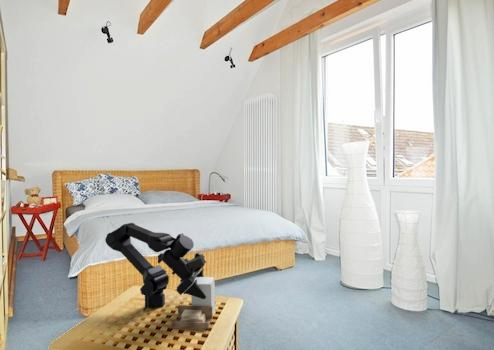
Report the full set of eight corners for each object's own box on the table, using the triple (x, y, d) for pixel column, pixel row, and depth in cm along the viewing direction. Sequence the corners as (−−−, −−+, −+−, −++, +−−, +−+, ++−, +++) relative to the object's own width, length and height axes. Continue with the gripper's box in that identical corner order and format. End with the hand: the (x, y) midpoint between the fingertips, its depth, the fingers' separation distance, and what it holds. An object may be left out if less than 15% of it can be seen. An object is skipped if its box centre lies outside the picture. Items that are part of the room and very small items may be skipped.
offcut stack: (179, 326, 110) (178, 315, 110) (182, 319, 115) (182, 309, 115) (202, 326, 110) (202, 316, 110) (205, 320, 114) (205, 309, 114)
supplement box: (215, 309, 124) (215, 276, 124) (211, 319, 117) (211, 284, 116) (196, 309, 125) (195, 276, 124) (191, 318, 118) (190, 283, 117)
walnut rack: (172, 330, 109) (171, 316, 109) (179, 319, 117) (178, 305, 117) (207, 332, 108) (207, 317, 108) (212, 320, 116) (212, 306, 116)
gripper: (185, 256, 111) (218, 289, 110) (197, 241, 129) (226, 269, 129) (162, 278, 112) (195, 311, 111) (178, 261, 130) (206, 289, 130)
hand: (207, 293), depth 120 cm, fingers closed on supplement box, 7 cm apart
